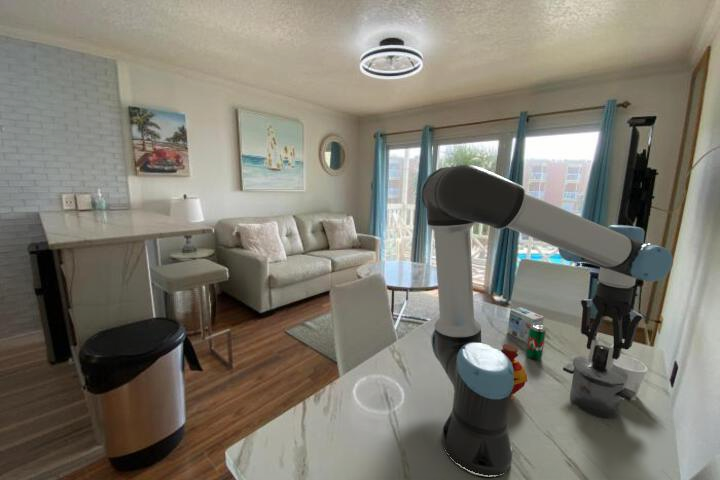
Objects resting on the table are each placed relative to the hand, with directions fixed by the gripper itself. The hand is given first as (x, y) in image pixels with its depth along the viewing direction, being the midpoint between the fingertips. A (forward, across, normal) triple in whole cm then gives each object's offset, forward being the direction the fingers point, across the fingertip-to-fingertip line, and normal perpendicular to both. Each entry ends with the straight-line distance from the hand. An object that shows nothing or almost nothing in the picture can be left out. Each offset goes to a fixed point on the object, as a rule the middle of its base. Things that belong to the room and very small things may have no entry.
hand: (600, 364), depth 85 cm
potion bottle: (+13, +16, +18) cm, 27 cm away
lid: (+2, 0, 0) cm, 2 cm away
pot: (+13, 0, 0) cm, 13 cm away
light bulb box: (+13, +32, -23) cm, 41 cm away
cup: (+13, -2, -14) cm, 19 cm away
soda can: (+13, +22, -11) cm, 28 cm away
